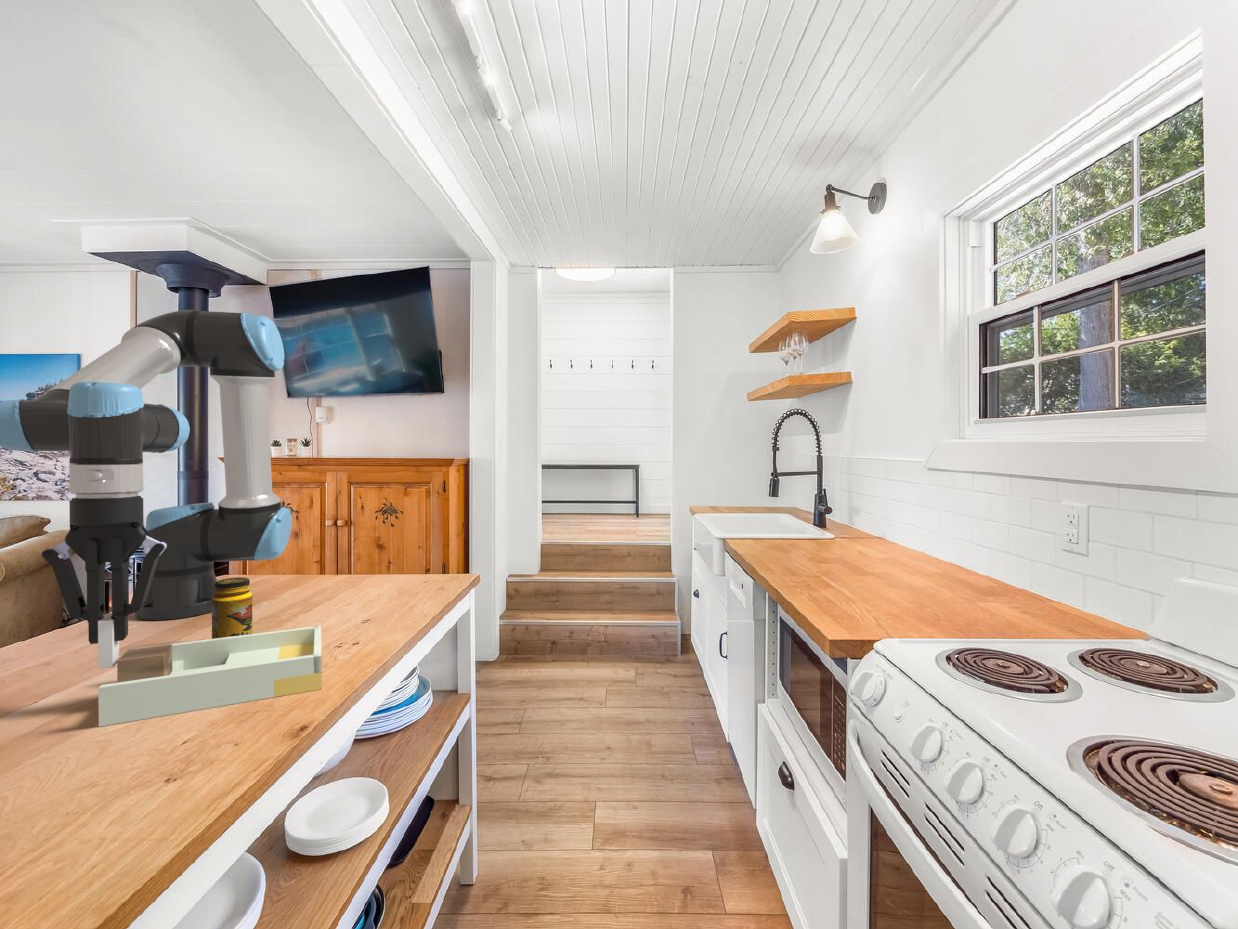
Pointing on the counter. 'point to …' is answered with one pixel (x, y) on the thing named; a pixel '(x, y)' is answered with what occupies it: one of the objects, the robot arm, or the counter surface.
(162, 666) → the block
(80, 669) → the counter surface
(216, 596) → the condiment
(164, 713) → the box
